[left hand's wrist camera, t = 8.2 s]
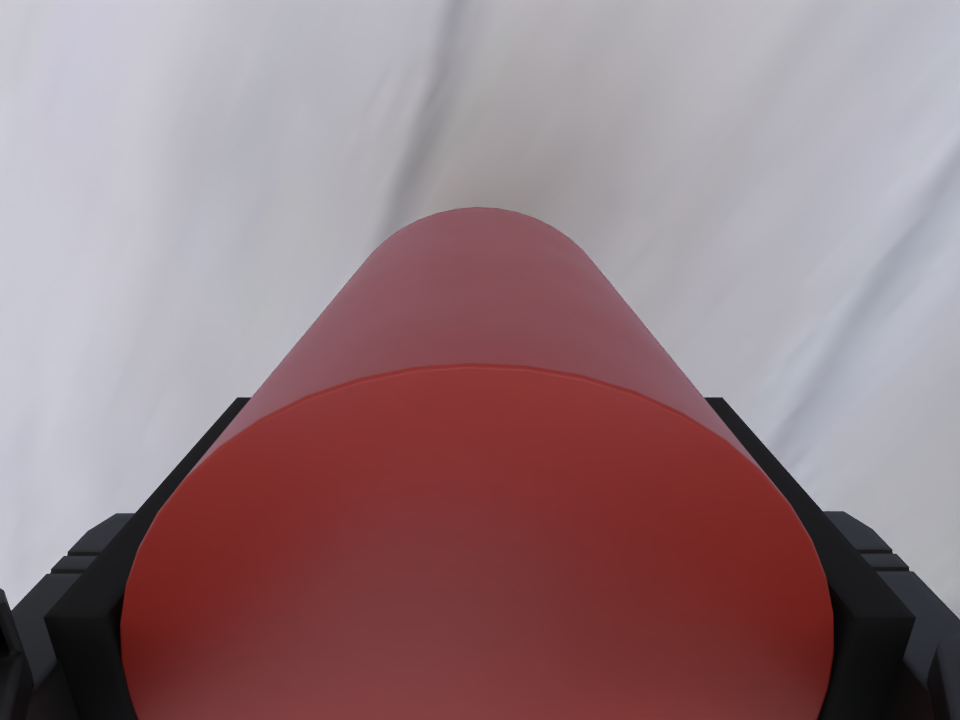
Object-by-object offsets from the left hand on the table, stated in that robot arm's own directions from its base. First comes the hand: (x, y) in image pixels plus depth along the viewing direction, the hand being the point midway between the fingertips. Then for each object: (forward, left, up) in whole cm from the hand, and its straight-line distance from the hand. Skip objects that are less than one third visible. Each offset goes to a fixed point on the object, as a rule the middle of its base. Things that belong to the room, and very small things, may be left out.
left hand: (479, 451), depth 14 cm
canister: (0, 0, -7) cm, 7 cm away
